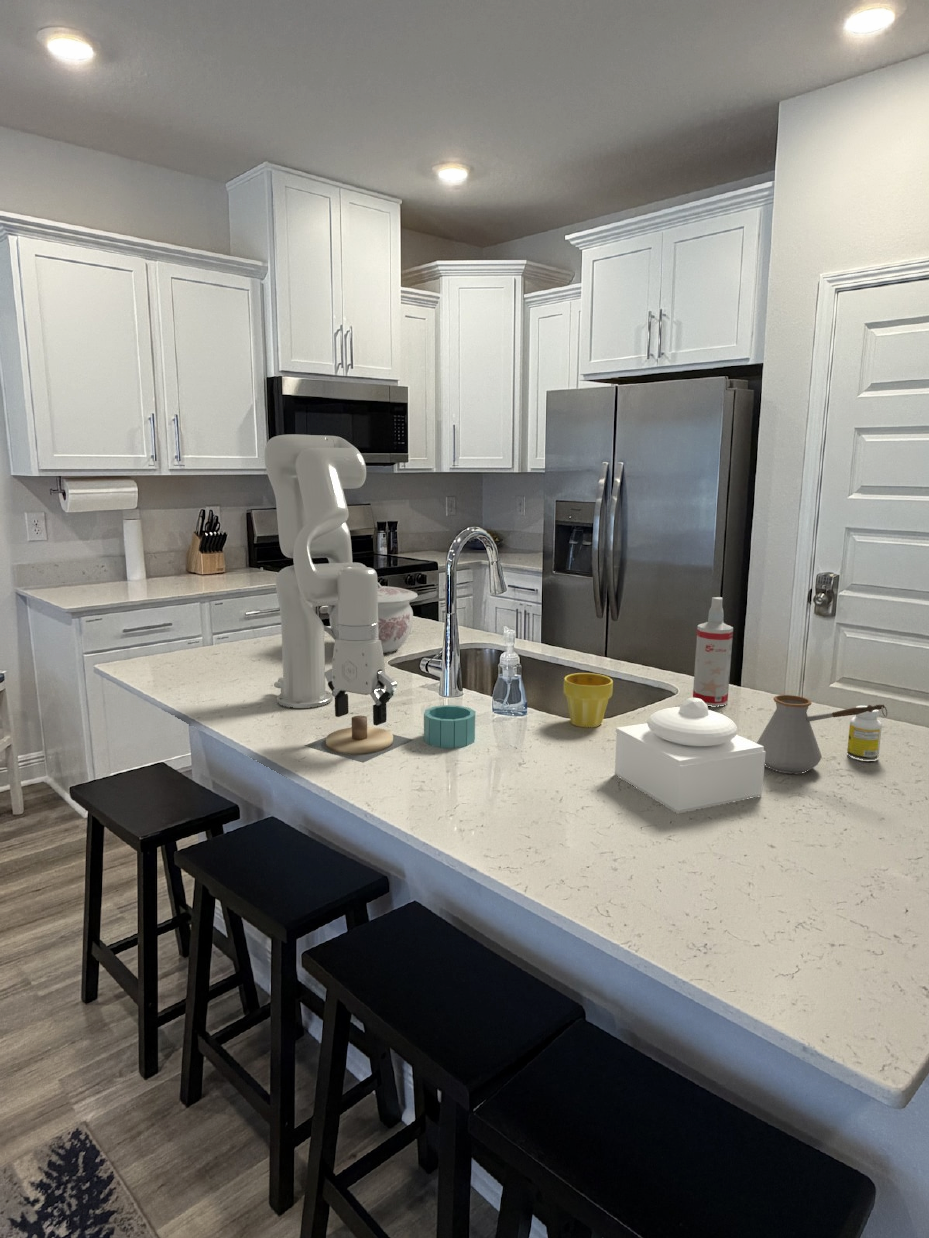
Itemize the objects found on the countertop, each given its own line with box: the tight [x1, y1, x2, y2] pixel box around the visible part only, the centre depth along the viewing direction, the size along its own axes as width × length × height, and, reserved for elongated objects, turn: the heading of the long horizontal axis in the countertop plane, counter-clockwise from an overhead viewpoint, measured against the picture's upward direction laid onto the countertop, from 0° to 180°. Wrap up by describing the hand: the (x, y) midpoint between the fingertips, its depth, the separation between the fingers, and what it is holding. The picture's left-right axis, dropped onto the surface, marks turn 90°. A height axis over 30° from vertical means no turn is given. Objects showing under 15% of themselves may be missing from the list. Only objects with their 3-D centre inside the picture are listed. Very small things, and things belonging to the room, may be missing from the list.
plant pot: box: [563, 672, 614, 728], centre depth 169 cm, size 10×10×10 cm
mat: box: [303, 726, 414, 763], centre depth 155 cm, size 15×15×1 cm
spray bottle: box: [692, 596, 734, 706], centre depth 184 cm, size 8×8×25 cm
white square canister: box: [614, 697, 766, 815], centre depth 136 cm, size 18×18×16 cm
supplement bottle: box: [846, 705, 883, 760], centre depth 151 cm, size 5×5×10 cm
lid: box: [325, 715, 394, 754], centre depth 154 cm, size 13×13×5 cm
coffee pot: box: [756, 694, 888, 774], centre depth 142 cm, size 21×12×15 cm, turn 49°
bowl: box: [423, 704, 476, 749], centre depth 157 cm, size 10×10×6 cm
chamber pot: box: [312, 582, 419, 654], centre depth 234 cm, size 28×28×21 cm
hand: (360, 719), depth 153 cm, fingers open, 9 cm apart
